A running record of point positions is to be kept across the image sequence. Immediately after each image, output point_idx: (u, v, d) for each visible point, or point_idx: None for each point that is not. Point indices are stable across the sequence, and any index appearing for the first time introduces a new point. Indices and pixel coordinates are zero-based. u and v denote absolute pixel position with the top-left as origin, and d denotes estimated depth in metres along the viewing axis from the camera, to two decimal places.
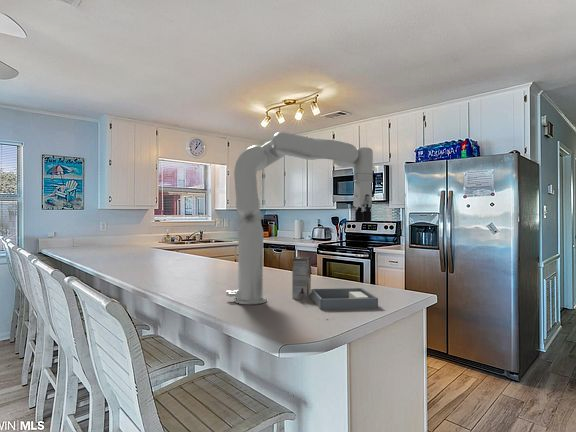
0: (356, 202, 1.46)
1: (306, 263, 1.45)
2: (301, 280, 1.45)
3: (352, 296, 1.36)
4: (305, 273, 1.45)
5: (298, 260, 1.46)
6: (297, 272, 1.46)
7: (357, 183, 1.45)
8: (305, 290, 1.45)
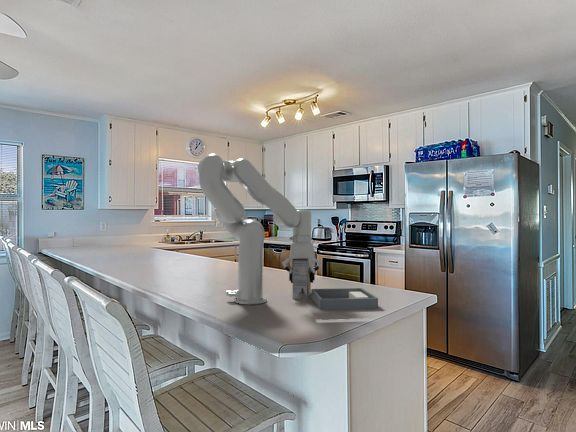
0: None
1: (306, 263, 1.45)
2: (301, 280, 1.45)
3: (352, 296, 1.36)
4: (305, 273, 1.45)
5: (298, 260, 1.45)
6: (298, 272, 1.46)
7: (305, 245, 1.47)
8: (305, 290, 1.45)
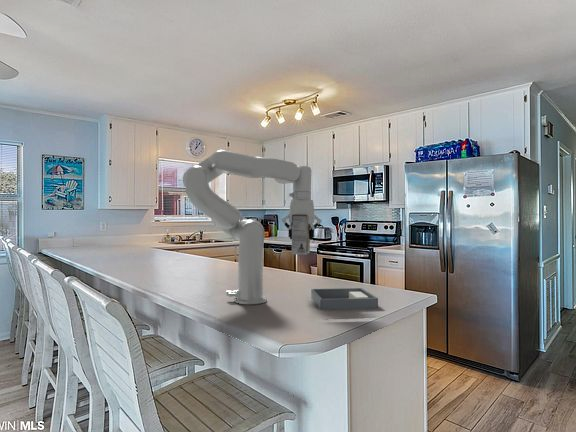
0: None
1: (306, 218, 1.45)
2: (300, 235, 1.45)
3: (352, 296, 1.36)
4: (305, 228, 1.45)
5: (298, 215, 1.45)
6: (297, 227, 1.45)
7: (305, 201, 1.47)
8: (304, 245, 1.45)
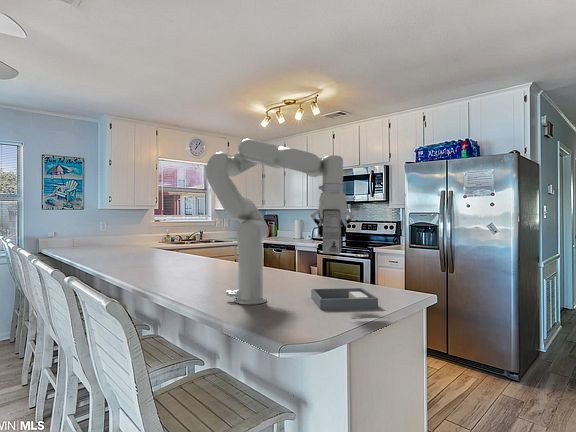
0: None
1: (338, 213, 1.30)
2: (332, 232, 1.31)
3: (352, 296, 1.36)
4: (337, 225, 1.30)
5: (329, 210, 1.31)
6: (329, 224, 1.31)
7: (336, 194, 1.32)
8: (337, 244, 1.30)
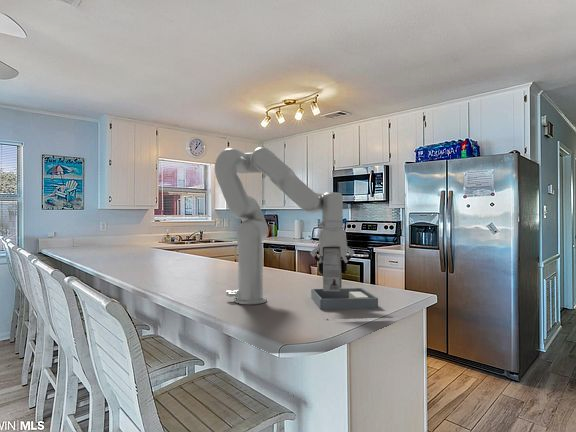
0: None
1: (338, 251, 1.30)
2: (332, 270, 1.30)
3: (352, 296, 1.36)
4: (337, 262, 1.30)
5: (329, 248, 1.31)
6: (329, 262, 1.31)
7: (336, 231, 1.32)
8: (337, 281, 1.30)
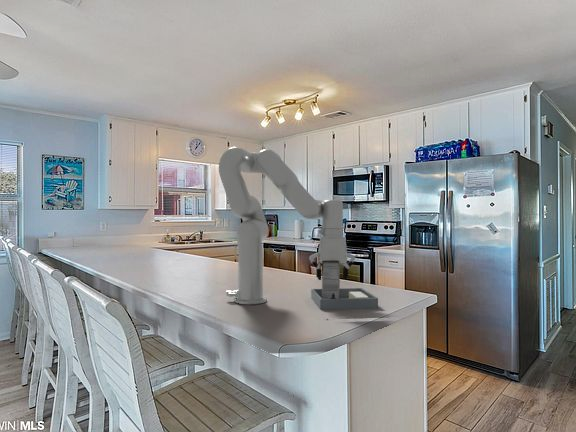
0: (335, 259, 1.32)
1: (338, 265, 1.30)
2: (332, 284, 1.30)
3: (352, 296, 1.36)
4: (337, 277, 1.30)
5: (329, 262, 1.31)
6: (328, 276, 1.31)
7: (336, 238, 1.32)
8: (337, 296, 1.30)
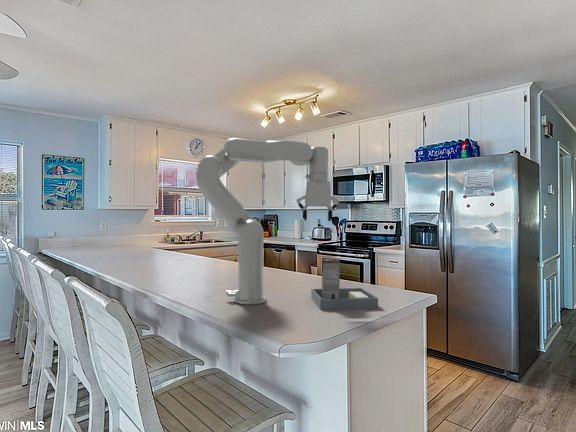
0: (319, 201, 1.43)
1: (338, 265, 1.30)
2: (332, 284, 1.30)
3: (352, 296, 1.36)
4: (337, 277, 1.30)
5: (329, 262, 1.31)
6: (328, 276, 1.31)
7: (321, 182, 1.44)
8: (336, 296, 1.30)
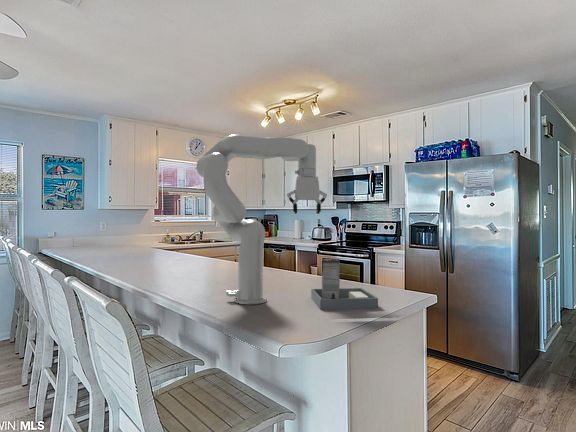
0: (308, 195, 1.53)
1: (338, 265, 1.30)
2: (332, 284, 1.30)
3: (352, 296, 1.36)
4: (337, 277, 1.30)
5: (329, 262, 1.31)
6: (328, 276, 1.31)
7: (310, 177, 1.54)
8: (336, 296, 1.30)
